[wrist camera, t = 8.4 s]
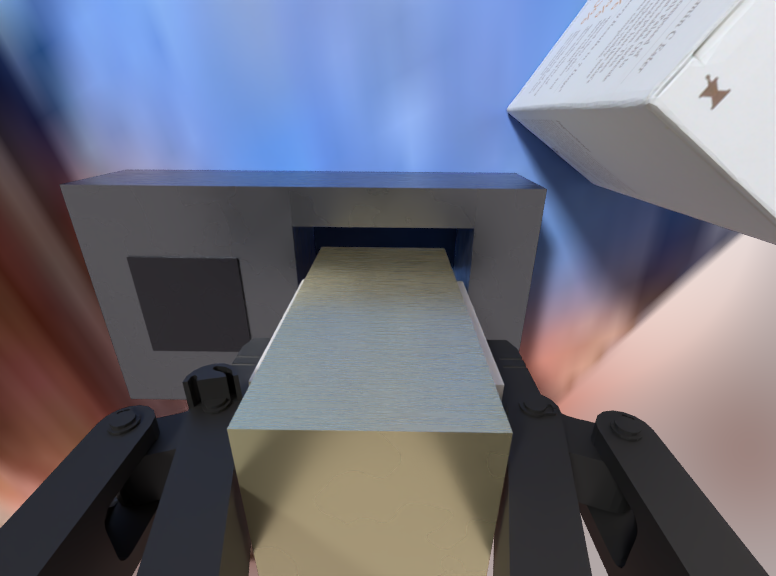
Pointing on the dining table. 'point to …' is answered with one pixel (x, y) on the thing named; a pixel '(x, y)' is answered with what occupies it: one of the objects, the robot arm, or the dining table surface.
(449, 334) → the beige square peg
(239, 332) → the grey square hole block
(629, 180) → the small box
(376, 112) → the dining table surface
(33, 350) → the dining table surface
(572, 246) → the dining table surface
